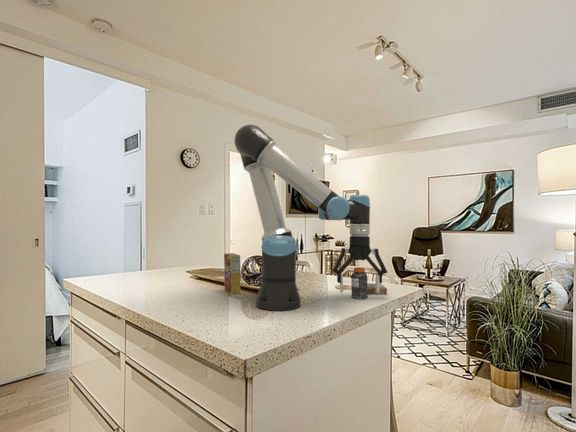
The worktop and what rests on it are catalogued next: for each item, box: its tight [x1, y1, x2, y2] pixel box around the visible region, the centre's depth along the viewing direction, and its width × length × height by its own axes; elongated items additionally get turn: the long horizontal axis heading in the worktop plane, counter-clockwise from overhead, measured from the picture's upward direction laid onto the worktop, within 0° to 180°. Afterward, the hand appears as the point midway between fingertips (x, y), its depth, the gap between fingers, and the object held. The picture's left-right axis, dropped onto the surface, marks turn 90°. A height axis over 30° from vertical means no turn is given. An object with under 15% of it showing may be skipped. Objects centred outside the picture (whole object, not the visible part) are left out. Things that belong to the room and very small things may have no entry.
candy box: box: [223, 252, 241, 295], centre depth 134 cm, size 9×4×15 cm, turn 28°
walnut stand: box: [367, 283, 388, 296], centre depth 136 cm, size 10×10×3 cm
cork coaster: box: [334, 284, 352, 291], centre depth 144 cm, size 8×8×1 cm
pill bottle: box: [350, 267, 369, 300], centre depth 125 cm, size 6×6×11 cm
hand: (359, 291), depth 125 cm, fingers open, 13 cm apart
